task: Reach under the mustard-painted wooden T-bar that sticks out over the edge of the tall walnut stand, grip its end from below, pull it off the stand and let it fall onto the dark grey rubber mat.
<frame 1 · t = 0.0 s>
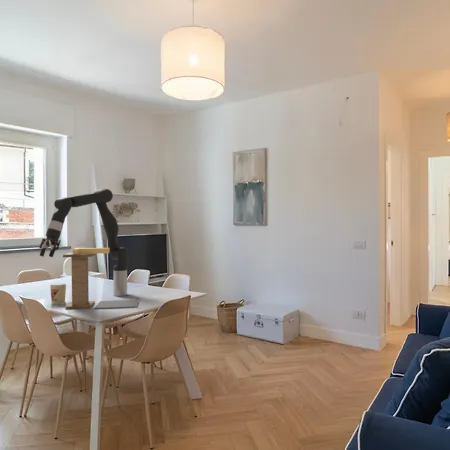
hand: (45, 256, 224), 31 cm above the table, tool tilted 20°, fingers open, 8 cm apart
mustard bar: (91, 253, 238), point 32 cm above the table, touching walnut stand
walnut stand: (80, 306, 237), on the table
coffee cup: (58, 303, 248), on the table
grey mat: (117, 304, 241), on the table
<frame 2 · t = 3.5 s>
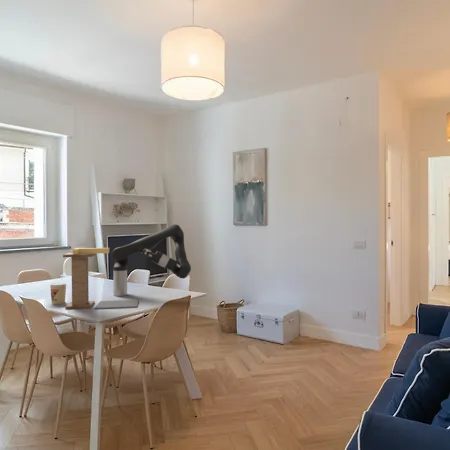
hand: (137, 247, 246), 35 cm above the table, tool pointing upward, fingers open, 8 cm apart
nothing on the table moved.
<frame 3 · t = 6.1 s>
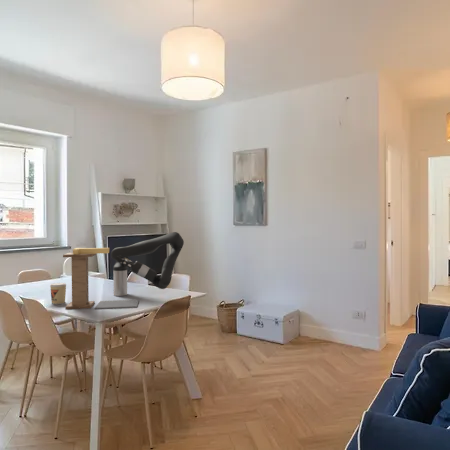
hand: (116, 256, 240), 30 cm above the table, tool pointing upward, fingers open, 8 cm apart
nothing on the table moved.
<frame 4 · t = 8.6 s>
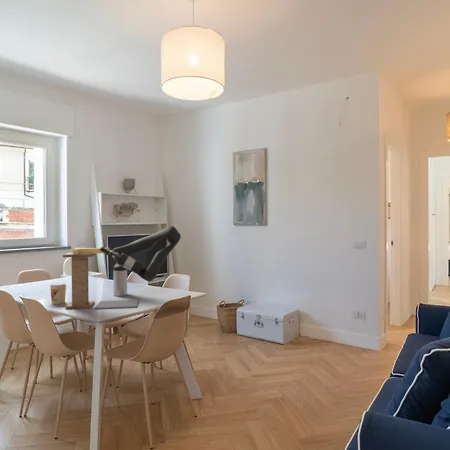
hand: (101, 248, 239), 35 cm above the table, tool pointing upward, fingers closed on mustard bar, 4 cm apart
mustard bar: (91, 253, 238), point 32 cm above the table, touching gripper, walnut stand
everything else where it was.
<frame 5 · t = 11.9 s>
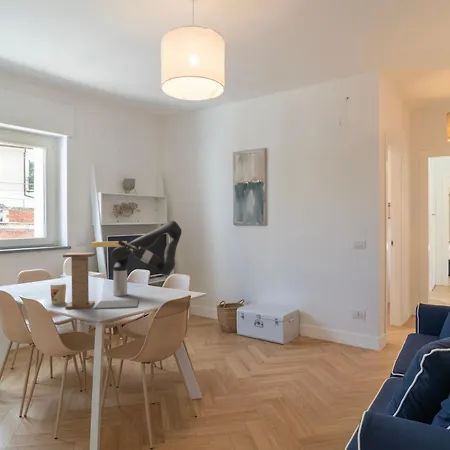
hand: (119, 241, 240), 39 cm above the table, tool pointing upward, fingers closed on mustard bar, 4 cm apart
mustard bar: (109, 246, 239), point 36 cm above the table, touching gripper
everything else where it was.
when the fingers open (26 cm above the table, at t = 15.3 s): mustard bar drops 23 cm, resting on grey mat.
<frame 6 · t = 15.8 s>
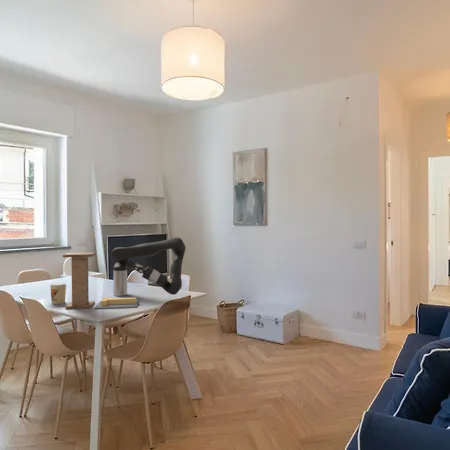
hand: (128, 262, 241), 26 cm above the table, tool pointing upward, fingers open, 8 cm apart
mustard bar: (119, 303, 241), point 1 cm above the table, touching grey mat
everything else where it was.
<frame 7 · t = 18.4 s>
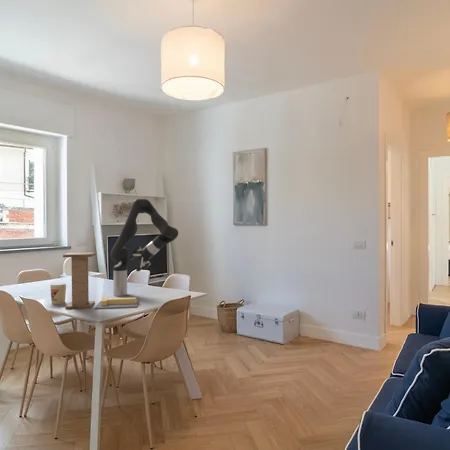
hand: (133, 265, 245), 24 cm above the table, tool tilted 50°, fingers open, 8 cm apart
nothing on the table moved.
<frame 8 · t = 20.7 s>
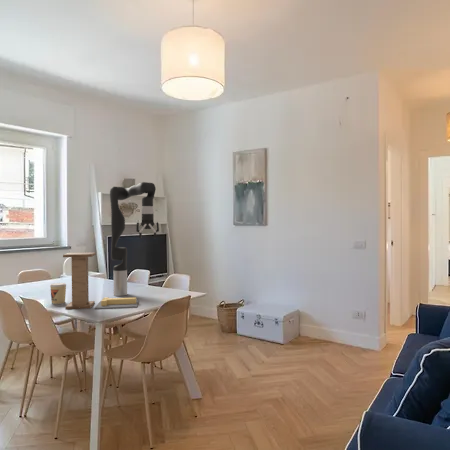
hand: (147, 238, 253), 40 cm above the table, tool pointing down, fingers open, 8 cm apart
nothing on the table moved.
at the end: mustard bar inside the target area on the grey mat (1.0 cm from its centre), point 0.8 cm above the grey mat's base; mustard bar touching grey mat; the gripper is holding nothing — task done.
